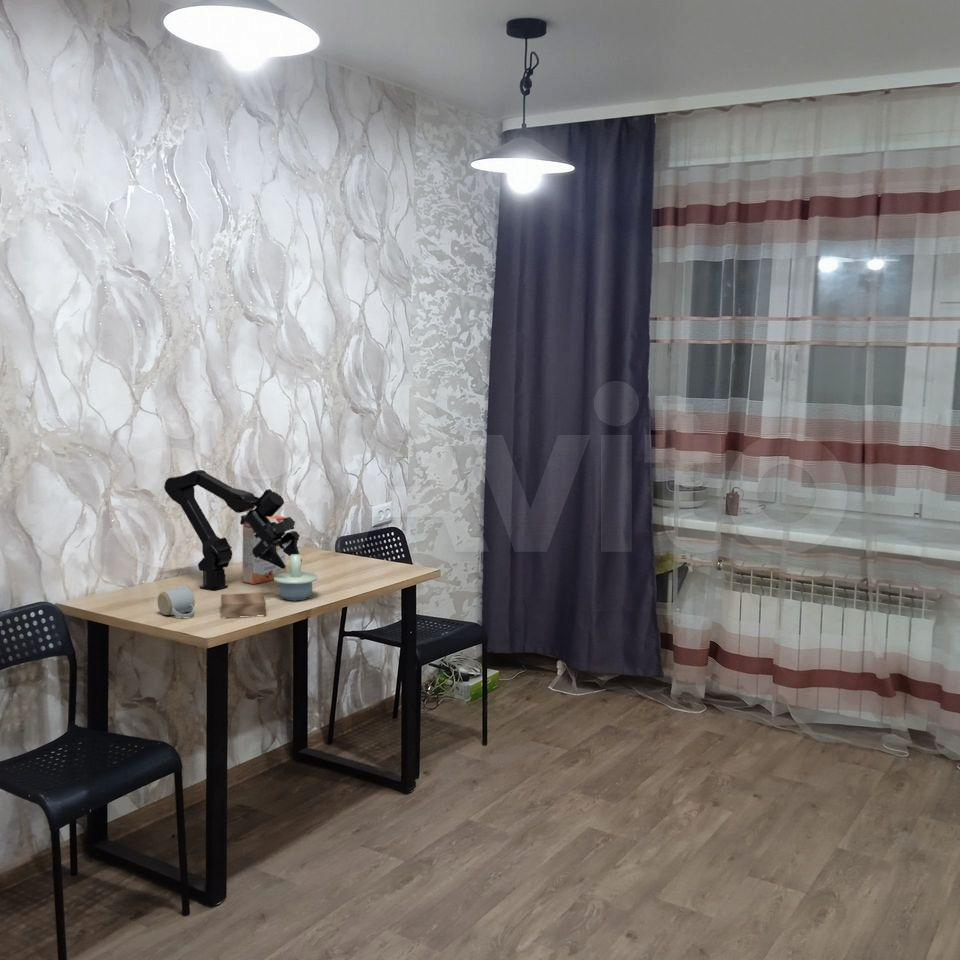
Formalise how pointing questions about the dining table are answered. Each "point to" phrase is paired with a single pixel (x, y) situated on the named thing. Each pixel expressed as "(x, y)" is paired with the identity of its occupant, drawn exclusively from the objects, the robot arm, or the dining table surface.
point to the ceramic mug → (177, 602)
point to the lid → (295, 573)
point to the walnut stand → (243, 605)
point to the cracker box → (256, 567)
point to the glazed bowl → (295, 591)
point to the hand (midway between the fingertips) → (292, 565)
